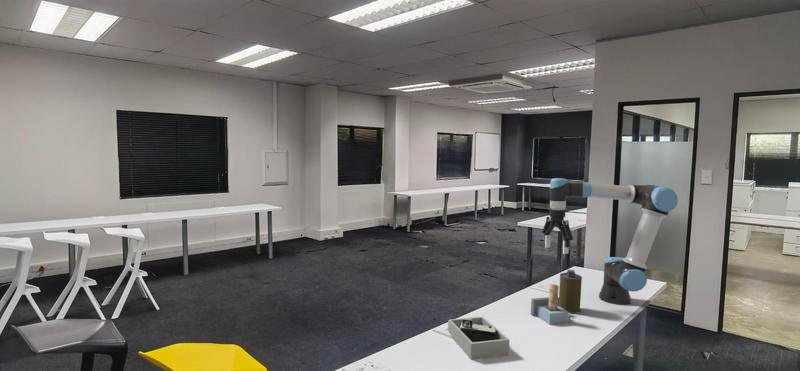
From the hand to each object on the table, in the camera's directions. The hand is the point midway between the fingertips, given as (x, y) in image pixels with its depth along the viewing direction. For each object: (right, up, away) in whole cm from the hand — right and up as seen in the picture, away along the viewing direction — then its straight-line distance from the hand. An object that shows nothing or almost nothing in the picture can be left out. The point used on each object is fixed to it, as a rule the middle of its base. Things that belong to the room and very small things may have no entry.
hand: (556, 250), depth 210 cm
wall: (-9, -30, -9) cm, 32 cm away
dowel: (-8, -29, -15) cm, 33 cm away
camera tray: (-48, -31, -41) cm, 71 cm away
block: (-8, -30, -15) cm, 34 cm away
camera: (-48, -31, -41) cm, 71 cm away
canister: (+5, -30, -2) cm, 30 cm away
